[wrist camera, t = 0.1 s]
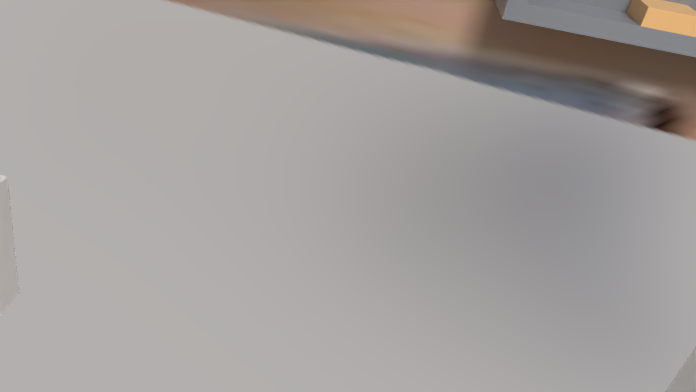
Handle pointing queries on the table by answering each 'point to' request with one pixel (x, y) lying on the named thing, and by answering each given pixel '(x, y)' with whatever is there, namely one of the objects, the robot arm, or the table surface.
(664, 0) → the holder
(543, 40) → the table surface
